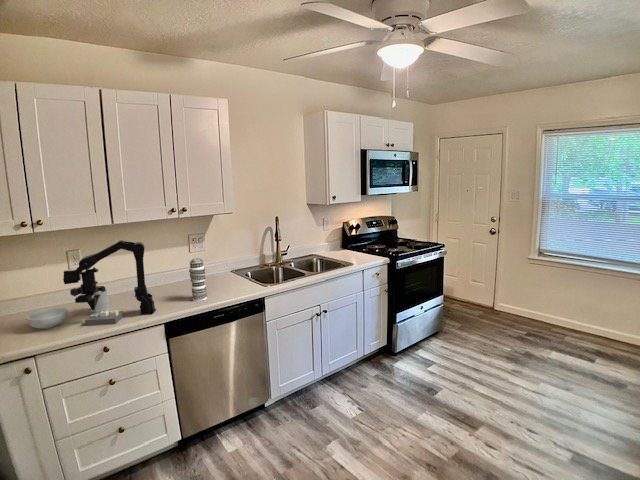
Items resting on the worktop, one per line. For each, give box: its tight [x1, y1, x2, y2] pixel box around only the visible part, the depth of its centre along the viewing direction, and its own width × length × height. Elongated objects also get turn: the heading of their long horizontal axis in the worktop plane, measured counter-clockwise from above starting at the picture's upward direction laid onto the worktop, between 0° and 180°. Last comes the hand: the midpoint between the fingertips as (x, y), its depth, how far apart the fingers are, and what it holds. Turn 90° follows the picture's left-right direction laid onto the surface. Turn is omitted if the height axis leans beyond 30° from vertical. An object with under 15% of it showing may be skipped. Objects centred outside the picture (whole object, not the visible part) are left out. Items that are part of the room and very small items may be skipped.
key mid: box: [100, 310, 110, 317], centre depth 189 cm, size 3×3×3 cm
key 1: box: [89, 313, 99, 318], centre depth 189 cm, size 3×3×3 cm
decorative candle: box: [188, 257, 208, 302], centre depth 217 cm, size 9×9×25 cm
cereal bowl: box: [26, 306, 69, 330], centre depth 185 cm, size 17×17×7 cm
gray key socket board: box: [84, 310, 125, 327], centre depth 190 cm, size 15×10×3 cm, turn 96°
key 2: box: [109, 309, 119, 316], centre depth 190 cm, size 3×3×3 cm
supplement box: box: [90, 289, 111, 314], centre depth 203 cm, size 7×7×13 cm
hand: (93, 309), depth 188 cm, fingers closed
